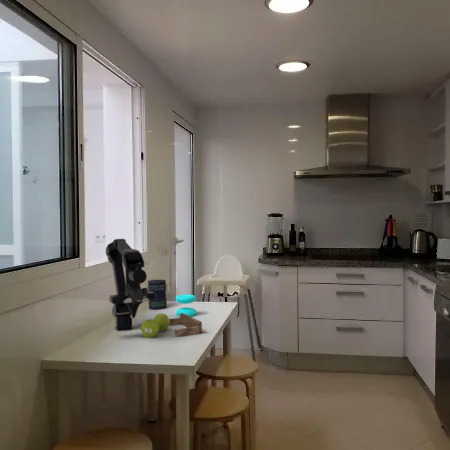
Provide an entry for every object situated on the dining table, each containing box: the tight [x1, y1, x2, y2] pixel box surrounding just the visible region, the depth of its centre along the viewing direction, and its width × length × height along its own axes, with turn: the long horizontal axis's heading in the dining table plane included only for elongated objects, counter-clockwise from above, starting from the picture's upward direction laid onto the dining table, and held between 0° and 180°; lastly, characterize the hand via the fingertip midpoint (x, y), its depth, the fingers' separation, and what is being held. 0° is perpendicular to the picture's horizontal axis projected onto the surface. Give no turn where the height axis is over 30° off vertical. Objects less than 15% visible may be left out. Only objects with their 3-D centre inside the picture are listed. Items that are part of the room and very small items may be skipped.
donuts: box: [175, 293, 197, 317], centre depth 250 cm, size 10×10×10 cm
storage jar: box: [147, 279, 168, 311], centre depth 271 cm, size 10×10×15 cm
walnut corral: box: [168, 313, 203, 338], centre depth 218 cm, size 12×22×5 cm, turn 26°
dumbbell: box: [140, 313, 170, 339], centre depth 213 cm, size 16×8×7 cm, turn 165°
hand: (133, 317), depth 209 cm, fingers closed
